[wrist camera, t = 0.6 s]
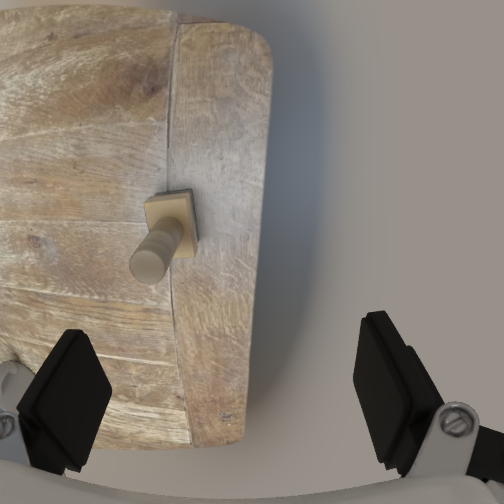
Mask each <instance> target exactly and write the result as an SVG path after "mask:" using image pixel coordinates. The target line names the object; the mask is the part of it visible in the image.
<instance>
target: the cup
mask: <svg viewBox="0 0 504 504" xmlns="http://www.w3.org/2000/svg"><path fill="white" fill-rule="evenodd" d="M34 377H35V375H34V374H33V372H32V371H30V370H29V369H28V368H27V367H25V366H24V365H22V364H20V363H18V362H12V361H5V362H3V363H2V364H1V365H0V412H4V411H11V412H13V413H15V414H16V415H17V416H18V414H19V412H18V410H17V409H16V407H17V405H18V403H19V402H20V400H21V398H22V397H23V395H24V393H25V392H26V390H27V388H28V387H29V385H30V383H31V382H32V380H33V379H34Z"/></svg>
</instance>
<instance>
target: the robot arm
mask: <svg viewBox="0 0 504 504" xmlns="http://www.w3.org/2000/svg"><path fill="white" fill-rule="evenodd" d="M353 383H354V387H355V390H356V392H357V395H358V398H359V402H360V405H361V408H362V411H363V414H364V417H365V420H366V423H367V426H368V429H369V433H370V436H371V439H372V442H373V446H374V449H375V452H376V455H377V459H378V461H379V462H380V463H384V464H385V468H386V470H389V469H393V468H397V472H398V474H400V475H401V476H400V478H399V479H394V480H390V481H385V482H379V483H374V484H369V485H364V486H360V487H354V488H349V489H343V490H336V491H330V492H323V493H315V494H307V495H298V496H288V497H276V498H258V499H204V498H186V497H174V496H164V495H155V494H146V493H139V492H133V491H126V490H121V489H115V488H110V487H105V486H100V485H96V484H91V483H87V482H83V481H79V480H75V479H71V478H67V477H66V475H65V473H64V471H65V468H67V469H68V470H71V471H75V472H79V473H80V471H81V468H82V466H84V465H85V464H86V462H87V460H88V457H89V454H90V451H91V448H92V445H93V443H94V440H95V437H96V434H97V432H98V429H99V426H100V424H101V421H102V418H103V416H104V413H105V411H106V408H107V405H108V403H109V400H110V398H111V395H112V387H111V385H110V383H109V381H108V379H107V377H106V375H105V372H104V370H103V368H102V366H101V364H100V362H99V360H98V358H97V355H96V353H95V351H94V349H93V347H92V344H91V342H90V340H89V337H88V335H87V334H84V332H83V331H82V330H80V329H67V330H66V331H65V332H64V333H63V335H62V336H61V338H60V339H59V341H58V342H57V343H56V345H55V346H54V348H53V349H52V351H51V352H50V354H49V355H48V357H47V358H46V360H45V361H44V363H43V365H42V366H41V368H40V369H39V371H38V372H37V374H36V375H35V377H34V379H33V380H32V382H31V383H30V385H29V387H28V388H27V390H26V392H25V393H24V395H23V397H22V398H21V400H20V402H19V403H18V405H17V407H16V409H17V410H18V412H19V414H18V416H17V415H16V414H15V413H13V412H11V411H4V412H0V504H504V433H501V432H498V431H495V430H492V429H489V428H486V427H483V426H480V425H479V418H478V414H477V413H476V412H475V410H474V409H473V408H472V407H470V406H469V405H467V404H465V403H462V402H456V401H455V402H448V403H446V404H445V403H444V401H443V399H442V397H441V396H440V394H439V392H438V390H437V389H436V387H435V385H434V383H433V381H432V380H431V378H430V376H429V374H428V372H427V371H426V369H425V367H424V366H423V364H422V362H421V361H420V359H419V357H418V355H417V354H416V352H415V350H414V349H413V348H412V347H411V346H409V345H408V346H406V345H405V343H404V341H403V339H402V338H401V336H400V334H399V333H398V331H397V329H396V328H395V326H394V324H393V323H392V321H391V319H390V318H389V316H388V314H387V313H386V312H385V311H376V312H369V313H367V316H366V317H365V318H362V320H361V326H360V334H359V341H358V348H357V355H356V361H355V368H354V373H353Z"/></svg>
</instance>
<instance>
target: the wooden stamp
mask: <svg viewBox="0 0 504 504" xmlns="http://www.w3.org/2000/svg"><path fill="white" fill-rule="evenodd" d="M144 209H145V215H146V220H147V225H148V230H149V233H148V234H147V236H146V237H145V238H144V240H143V241H142V243H141V244H140V245H139V247H138V248H137V249H136V251H135V252H134V253H133V255H132V256H131V258H130V261H129V268H130V271H131V273H132V275H133V276H134V277H135V278H136V279H137V280H138V281H139V282H141V283H144V284H155V283H158V282H159V281H161V280H162V279H163V277H164V275H165V273H166V271H167V269H168V267H169V264H170V262H171V260H172V259H175V258H188V257H195V255H196V252H197V249H198V242H199V235H198V228H197V221H196V215H195V208H194V200H193V193H192V189H186V190H178V191H169V192H162V193H156V194H155V195H154V196H151V197H149V198H148V199H147V200H146V201H145V202H144Z"/></svg>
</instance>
